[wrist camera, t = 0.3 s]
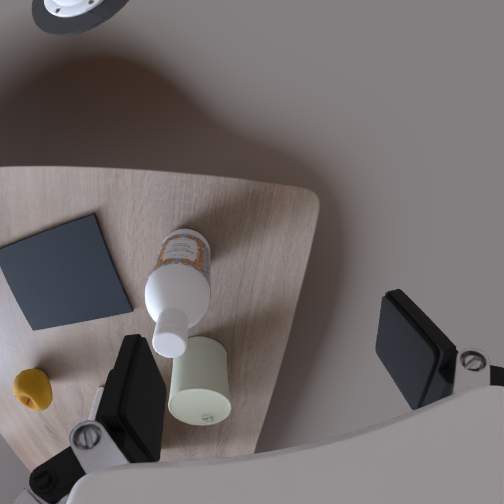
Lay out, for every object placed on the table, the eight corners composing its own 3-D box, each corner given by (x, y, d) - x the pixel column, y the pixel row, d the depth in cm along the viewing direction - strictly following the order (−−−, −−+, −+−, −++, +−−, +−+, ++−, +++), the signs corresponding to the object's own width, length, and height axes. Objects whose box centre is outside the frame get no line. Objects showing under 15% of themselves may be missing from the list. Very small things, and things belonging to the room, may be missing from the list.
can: (187, 380, 51) (185, 432, 40) (163, 344, 48) (155, 398, 37) (234, 367, 51) (241, 420, 40) (215, 329, 48) (217, 384, 37)
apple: (35, 387, 50) (22, 416, 41) (16, 357, 46) (-1, 386, 38) (65, 390, 50) (53, 421, 42) (46, 358, 47) (30, 390, 39)
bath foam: (211, 228, 41) (212, 312, 23) (209, 274, 44) (210, 376, 25) (160, 226, 40) (123, 308, 22) (161, 272, 43) (134, 371, 24)
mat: (95, 213, 38) (94, 214, 38) (133, 309, 45) (132, 311, 44) (-5, 250, 37) (-6, 251, 37) (34, 328, 44) (33, 330, 43)
